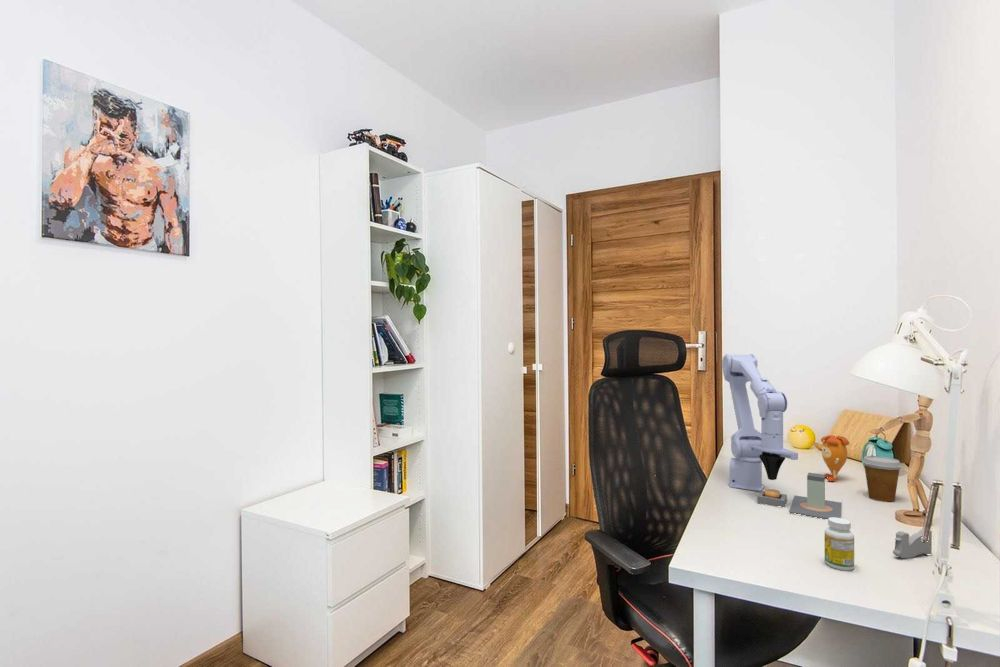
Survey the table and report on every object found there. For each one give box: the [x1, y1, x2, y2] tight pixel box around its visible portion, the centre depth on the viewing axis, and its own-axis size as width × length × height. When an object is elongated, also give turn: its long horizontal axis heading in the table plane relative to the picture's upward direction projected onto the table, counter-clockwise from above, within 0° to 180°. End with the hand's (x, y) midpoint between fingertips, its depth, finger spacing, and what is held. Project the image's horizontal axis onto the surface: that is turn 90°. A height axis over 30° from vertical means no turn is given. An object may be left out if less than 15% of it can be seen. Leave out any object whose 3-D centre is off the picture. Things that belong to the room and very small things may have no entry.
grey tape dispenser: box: [892, 528, 933, 560], centre depth 114 cm, size 6×1×10 cm
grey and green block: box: [806, 472, 826, 510], centre depth 146 cm, size 4×4×9 cm
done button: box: [764, 488, 781, 499], centre depth 151 cm, size 4×4×2 cm
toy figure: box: [820, 434, 850, 482], centre depth 175 cm, size 12×8×15 cm, turn 159°
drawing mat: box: [788, 494, 842, 520], centre depth 146 cm, size 12×18×1 cm, turn 146°
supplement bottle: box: [824, 517, 855, 571], centre depth 109 cm, size 5×5×10 cm
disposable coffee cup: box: [862, 455, 902, 503], centre depth 155 cm, size 10×10×12 cm
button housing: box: [756, 490, 788, 508], centre depth 151 cm, size 7×7×2 cm
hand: (772, 479), depth 151 cm, fingers closed
